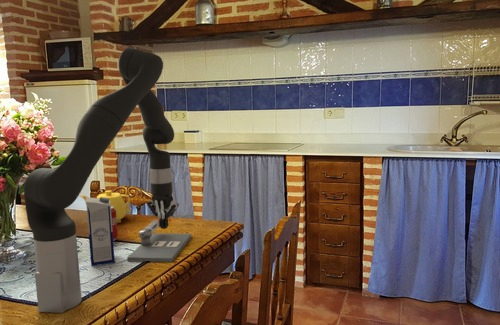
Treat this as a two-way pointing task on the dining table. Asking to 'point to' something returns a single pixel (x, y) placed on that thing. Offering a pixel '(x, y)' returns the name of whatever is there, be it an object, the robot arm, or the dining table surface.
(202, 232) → the dining table surface
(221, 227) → the dining table surface
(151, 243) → the panel
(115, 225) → the beverage can
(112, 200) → the teapot
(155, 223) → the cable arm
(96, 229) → the milk carton
